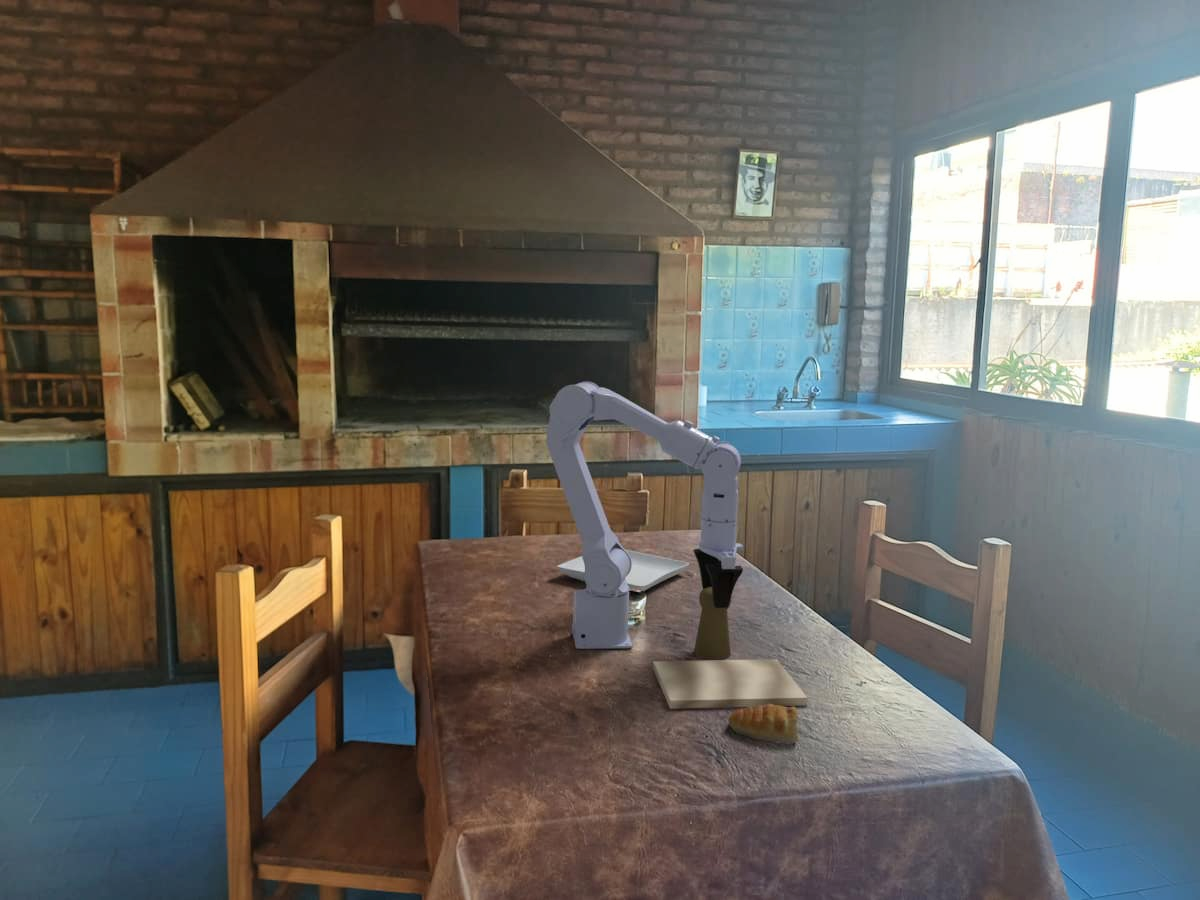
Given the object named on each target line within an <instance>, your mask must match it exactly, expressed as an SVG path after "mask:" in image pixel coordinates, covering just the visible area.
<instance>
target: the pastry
mask: <svg viewBox="0 0 1200 900" xmlns="http://www.w3.org/2000/svg"><path fill="white" fill-rule="evenodd" d="M798 718H799V711H798V709H797V707H796V706H790V707H788V706H779V705H773V704H766V705H764V706H757V707H741V708H738V709H736V710H734V711H733V712H731V714H730V715H729V717H728V725H729V726H730V727H731V729H732V730H733V731H734V732H736V733H737V734H739V735H744V736H746V737H749V738H751V739H752V738H753V739H754V740H757V741H764V740H765V742H769V741H772V742H771V743H775V742H779V743H778V744H782V743H789V744H788V745H793V744H792V743H795V744H796V743H797V742H798V741H797V740H799V729H800V722H799V719H798ZM796 741H797V742H796Z"/></svg>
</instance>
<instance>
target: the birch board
mask: <svg viewBox="0 0 1200 900" xmlns="http://www.w3.org/2000/svg"><path fill="white" fill-rule="evenodd" d="M652 664H653V665H652V669H653V672H654V674H655V676H656V679H657V681H658V684H659V686H660V689H661V690H662V693H663V695H664V698H665V700H666V703H667V706H668V707H669V709H670V710H672V709H673V710H674V709H709V708H710V709H711V708H713V709H715V708H747V707H757V706H764V705H766V704H773V705H779V706H783V707H792V706H794V707H797V706H798V707H799V706H808V696H807V695H806V694H805V692H804V691H803V690H802V689H801V688H800V686H799V685H798V684H797V682H796V680H794V679H793V678H792V676H791V675H790V674H789V672H787V670H786V668H784V666H783V665H782V664H781V662H780V661H779V660H778V658H774V659H773V658H771V659H769V658H767V659H765V658H763V659H762V658H761V659H760V658H759V659H723V660H709V659H704V660H702V659H701V660H655V661H653V662H652Z"/></svg>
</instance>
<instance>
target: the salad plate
mask: <svg viewBox="0 0 1200 900" xmlns="http://www.w3.org/2000/svg"><path fill="white" fill-rule="evenodd" d="M625 550H626V551H627V552H628V553H629V555H630V557H631V561H632V567H631V570H630V572H629V574H628V575H627V576H626V577H625V580H626V583H627V585H628V586H629V588H634V589H638V590H640V591H643V592H645V591H646V590H648V589H650V588H652V587H654V586H657V585H658V584H660V583H662V582H664V581H666V580H668V579H670V578H672V577H675V576H676V575H679V574H680V573H682V572H684V571H685V570H686V569H687V568H688V567H689V565H690V563H689V562H686V561H681V560H678V559H673V558H668V557H664V556H658V555H654V554H649V553H644V552H639V551H635V550H629V549H625ZM556 568H557V569H558V570H559V571H560V572H561V573H562V574H564V575H565V576H567V577H570V578H573V579H575V580H579V581H580V580H581V581H580V582H583V581H585V579H584V572H585V564H584V561H583V558H582V555H581V556H578V557H576V558H573V559H570V560H568V561H566V562H563V563H561V564H557V566H556Z"/></svg>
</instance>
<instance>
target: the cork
mask: <svg viewBox="0 0 1200 900" xmlns="http://www.w3.org/2000/svg"><path fill="white" fill-rule="evenodd" d="M698 597H699V598H698V600H699V605H700V606H701V613H700V617H699V622H698V623H699V624H698V629H697V635H696V638H695V646H694V650H693V652H694V654H695V655H696V656H697V657H699V658H701V659H704V660H728V659H729V658H730V657H731V654H732V653H731V643H730V641H731V640H730V639H731V638H730V629H729V620H728V619H729V617H728V609H729V608H730V607H731V604H732V598H731V599H730V603H729V606H728V608H715V606H714V602H713V594H712V587H707V588H705V589H703V588H702V590H701V591H700V593H699V595H698Z"/></svg>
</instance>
